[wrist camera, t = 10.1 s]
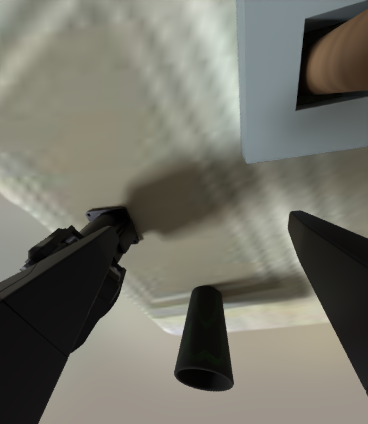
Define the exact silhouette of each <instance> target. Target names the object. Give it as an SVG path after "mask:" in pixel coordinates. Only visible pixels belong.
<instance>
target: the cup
mask: <svg viewBox="0 0 368 424" xmlns="http://www.w3.org/2000/svg"><path fill="white" fill-rule="evenodd" d="M174 375H175V377H176V379H177V380H179V381H180V382H181V383H183V384H185V385H187V386H189V387H193V388H196V389H200V390H205V391H225V390H229V389H230V388H232V387H233V385H234V381H233V374H232V367H231V360H230V352H229V345H228V338H227V331H226V323H225V316H224V309H223V302H222V295H221V293H220V291H218V290H217V289H216V288H213V287H210V286H199V287H196V288H195V289H194V290H193V291H192V294H191V298H190V303H189V308H188V312H187V317H186V321H185V326H184V330H183V335H182V339H181V344H180V349H179V354H178V357H177V362H176V367H175V371H174Z"/></svg>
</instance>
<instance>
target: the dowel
mask: <svg viewBox="0 0 368 424" xmlns="http://www.w3.org/2000/svg"><path fill="white" fill-rule="evenodd" d="M364 90H368V9H366V10H365V11H363V12H361V13H360V14H358V15H357V16H355V17H353V18H352V19H350V20H349V21H347V22H345V23H344V24H342V25H340V26H339V27H337V28H336V29H334V30H332V31H331V32H329V33H328V34H326V35H324V36H323V37H321V38H320V39H318V40H316V41H315V42H313V43H311V44H310V45H308V46H307V47H305V48H304V49H303V50H302V52H301V62H300V71H299V81H298V91H297V94H299V95H303V96H308V95H319V94H330V93H341V92H353V91H364Z"/></svg>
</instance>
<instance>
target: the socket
mask: <svg viewBox="0 0 368 424" xmlns="http://www.w3.org/2000/svg"><path fill="white" fill-rule="evenodd" d="M236 7H237V37H238V68H239V99H240V130H241V154H242V156H243V158H244V159H245V161H246V163H247V164H251V163H258V162H265V161H272V160H279V159H286V158H293V157H300V156H307V155H314V154H320V153H327V152H334V151H341V150H348V149H355V148H362V147H368V90H364V91H353V92H342V94H341V97H339V98H334V99H329V100H324V101H319V102H314V103H309V104H304V105H299V106H296V100H297V91H298V81H299V71H300V62H301V52H302V42H303V33H306V32H309V31H313V30H317V29H320V28H324V27H327V26H331V25H334V24H338V23H341V22H345V21H348V20H350V19H352V18H353V17H355V16H357V15H358V14H360V13H361V12H363V11H365V10H366V9H368V0H236Z"/></svg>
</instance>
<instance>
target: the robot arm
mask: <svg viewBox="0 0 368 424" xmlns="http://www.w3.org/2000/svg"><path fill="white" fill-rule="evenodd" d="M122 210H123V211H122ZM86 216H87V218H88V220H89V221H90V223H89V224H87V225H86V226H85V227H84V228H83V229H82V230H81V231H80V232H78V231H77V230H76V229H75V227H73V226H72V225H71V226H70V227H69V228H68V229H66V228H65V229H60V228H58V229H57V230H56V231H54V232H53V233H52V234H51V235H49V236H48V237H47V238H45V239H44V240H43V241H41V242H40V243H38V244H37V245H35V246H34V247H33V248H31V249H30V250H29V251H28V260H26V261H25V263H26V264H25V265H24V266H23V267H22V268H21V269H20V270H21V272H20V273H17V274H15V275H14V276H12V277H10V278H8V279H6V280H4V281H2V282H0V424H38V423H39V421H40V419H41V416H42V414H43V412H44V410H45V408H46V406H47V403H48V401H49V399H50V397H51V395H52V392H53V390H54V388H55V386H56V384H57V382H58V379H59V377H60V375H61V372H62V371H63V368H64V366H65V364H66V362H67V359H68V357H69V355H70V353H72V352H73V351H75V350H76V349H77V348H79V347H80V346H81V345H82V344H83V343H84V342H85V341H86V339H87V337H88V336H89V334H90V332H91V331H92V329H93V328H94V326H95V325H96V323H97V322H98V320H99V319H100V318H102V317H103V316H104V315H105V314H106V313H107V312H108V311H109V310H110V309H111V308H112V306H113V305H114V303H115V302H116V300H117V299H118V297H119V294H120V291H121V287H122V284H123V280H124V277H125V273H126V269H125V268H122V267H121V266H120V265H119V264H118V262H119V260H120V259H121V257H122V255H123V254H125V253H126V252H127V251H128V249H129V247H130V245H131V244H138V242H139V238H138V236H137V232H136V230H135V228H134V225H133V223H132V221H131V219H130V217H129V214H128V212H127V209H126V208H125V207H118V208H108V209H99V210H90V211H87V212H86ZM288 231H289V234H290V237H291V240H292V243H293V245H294V248H295V251H296V254H297V256H298V259H299V261H300V263H301V266H302V267H303V269H304V271H305V273H306V275H307V277H308V279H309V281H310V283H311V285H312V287H313V289H314V291H315V293H316V295H317V297H318V299H319V301H320V303H321V305H322V307H323V309H324V311H325V313H326V315H327V317H328V319H329V321H330V322H331V324H332V326H333V328H334V330H335V332H336V334H337V336H338V338H339V340H340V342H341V344H342V346H343V348H344V350H345V352H346V353H347V356H348V358H349V360H350V362H351V363H352V366H353V368H354V370H355V372H356V374H357V375H358V377H359V379H360V381H361V383H362V385H363V387H364V389H365V390H366V394H367V395H368V238H365V237H363V236H361V235H358V234H356V233H353V232H351V231H349V230H346V229H344V228H341V227H339V226H337V225H334V224H332V223H330V222H327V221H325V220H322V219H320V218H318V217H315V216H313V215H311V214H308V213H306V212H303V211H300V210H299V211H291V212H290V214H289V221H288ZM135 240H136V241H135Z"/></svg>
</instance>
